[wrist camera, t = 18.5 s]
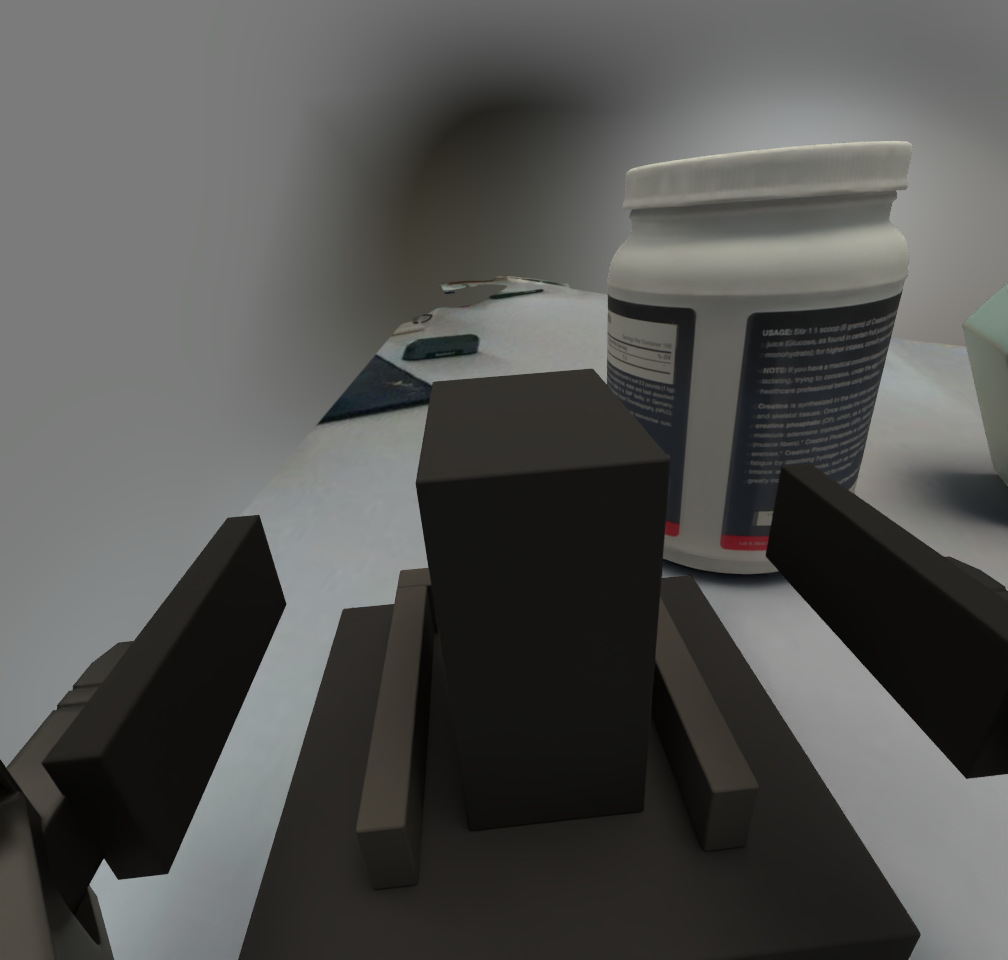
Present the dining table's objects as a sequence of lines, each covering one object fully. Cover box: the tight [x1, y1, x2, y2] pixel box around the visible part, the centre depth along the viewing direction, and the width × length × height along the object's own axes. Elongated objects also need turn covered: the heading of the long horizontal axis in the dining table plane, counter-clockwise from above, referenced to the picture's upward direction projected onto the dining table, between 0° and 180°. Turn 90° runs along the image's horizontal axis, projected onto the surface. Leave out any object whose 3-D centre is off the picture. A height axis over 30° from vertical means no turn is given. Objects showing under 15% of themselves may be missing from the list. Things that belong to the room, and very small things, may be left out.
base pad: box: [238, 568, 920, 960], centre depth 18 cm, size 16×14×4 cm
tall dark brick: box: [416, 369, 671, 831], centre depth 16 cm, size 5×7×11 cm
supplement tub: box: [607, 141, 913, 574], centre depth 28 cm, size 13×13×18 cm
